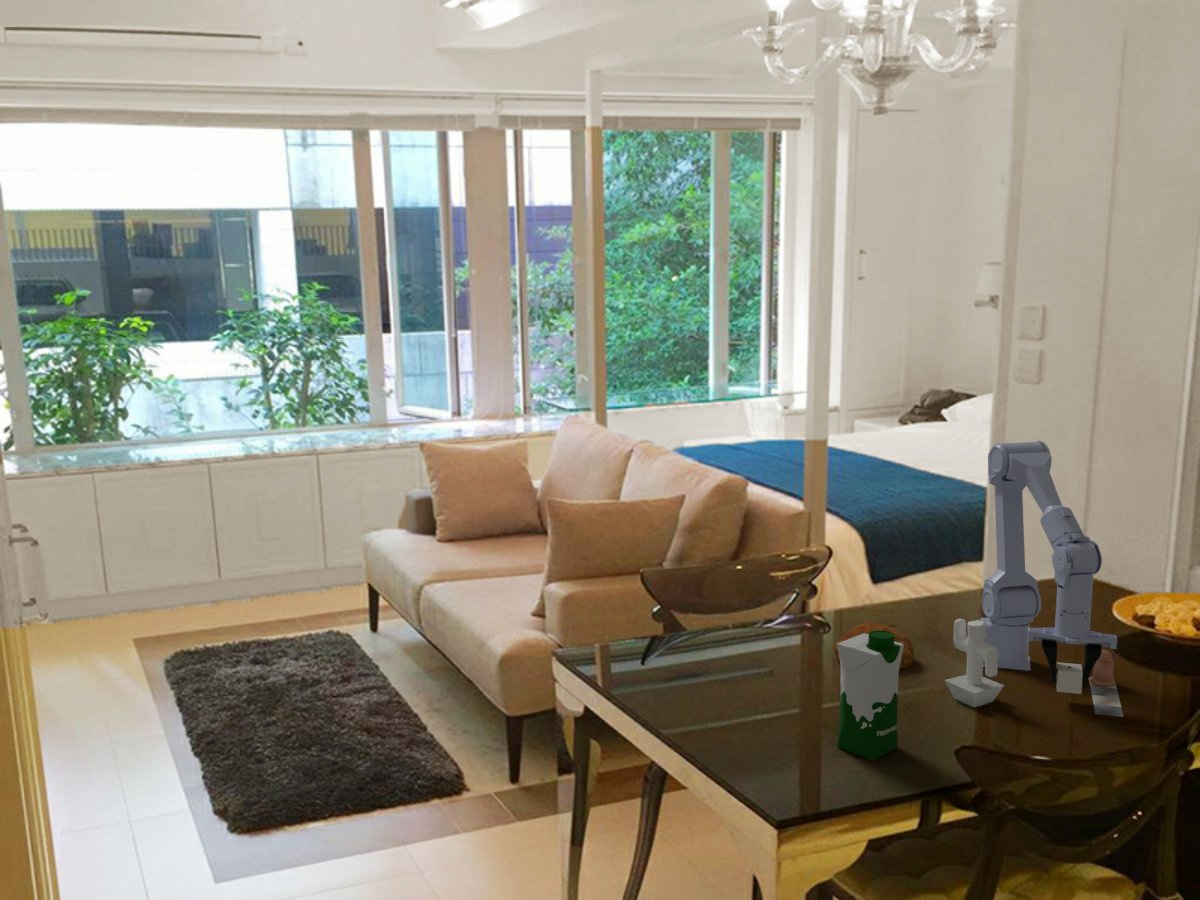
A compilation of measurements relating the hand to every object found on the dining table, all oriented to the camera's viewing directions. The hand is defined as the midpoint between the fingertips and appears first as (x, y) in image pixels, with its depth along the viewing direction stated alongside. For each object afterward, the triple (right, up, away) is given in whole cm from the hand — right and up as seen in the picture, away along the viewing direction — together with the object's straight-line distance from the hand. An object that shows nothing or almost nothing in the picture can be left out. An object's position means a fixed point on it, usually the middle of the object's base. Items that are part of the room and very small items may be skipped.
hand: (1068, 682), depth 208 cm
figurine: (-16, -4, +3) cm, 17 cm away
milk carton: (-39, -8, -15) cm, 43 cm away
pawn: (+10, -2, +10) cm, 14 cm away
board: (+5, -3, +5) cm, 7 cm away
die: (0, -1, 0) cm, 1 cm away
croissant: (-29, -1, +25) cm, 39 cm away
